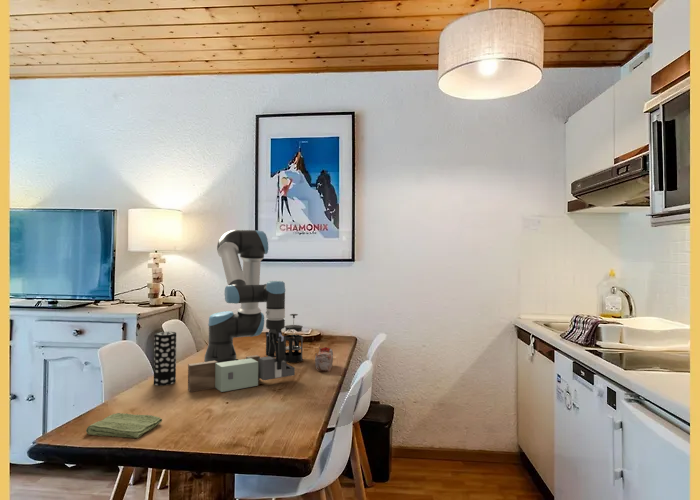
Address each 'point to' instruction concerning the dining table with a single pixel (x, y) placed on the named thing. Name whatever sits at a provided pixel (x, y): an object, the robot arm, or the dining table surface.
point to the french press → (296, 355)
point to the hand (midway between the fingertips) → (274, 375)
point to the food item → (324, 359)
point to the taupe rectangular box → (205, 374)
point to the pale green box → (236, 374)
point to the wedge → (272, 368)
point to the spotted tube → (164, 358)
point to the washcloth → (123, 425)
